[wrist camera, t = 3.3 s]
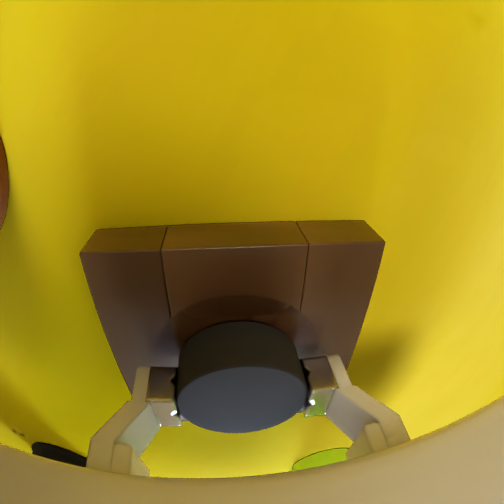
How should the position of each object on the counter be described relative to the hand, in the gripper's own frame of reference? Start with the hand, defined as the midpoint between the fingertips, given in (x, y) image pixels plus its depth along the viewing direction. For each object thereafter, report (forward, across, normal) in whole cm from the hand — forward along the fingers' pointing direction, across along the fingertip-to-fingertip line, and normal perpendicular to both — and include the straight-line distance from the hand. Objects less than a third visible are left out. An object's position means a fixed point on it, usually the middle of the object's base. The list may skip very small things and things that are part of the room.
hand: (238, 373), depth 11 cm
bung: (+2, 0, 0) cm, 2 cm away
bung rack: (+2, 0, 0) cm, 2 cm away
